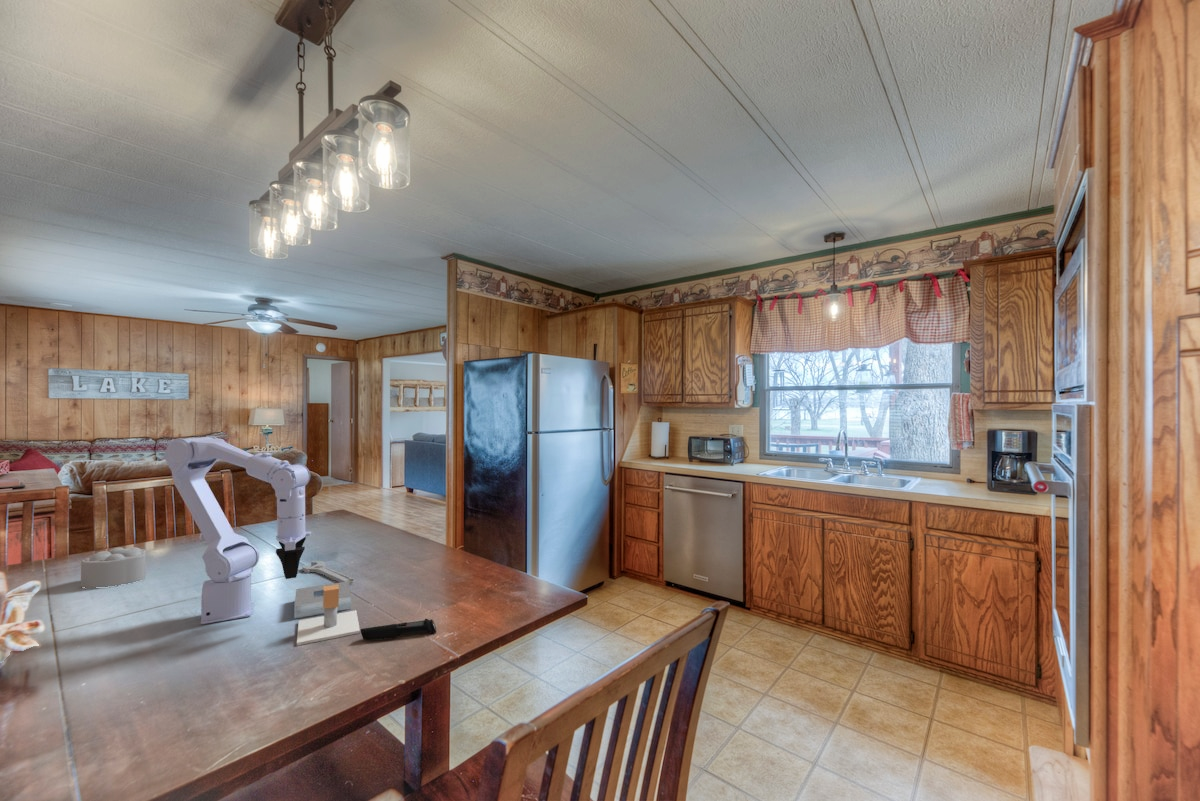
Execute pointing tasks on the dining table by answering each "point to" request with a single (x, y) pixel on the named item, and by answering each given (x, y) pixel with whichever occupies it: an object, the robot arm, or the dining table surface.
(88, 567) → the egg container
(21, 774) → the dining table surface
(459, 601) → the dining table surface
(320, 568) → the adjustable wrench
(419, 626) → the electric trimmer
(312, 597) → the socket block
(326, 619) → the key
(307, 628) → the mat
